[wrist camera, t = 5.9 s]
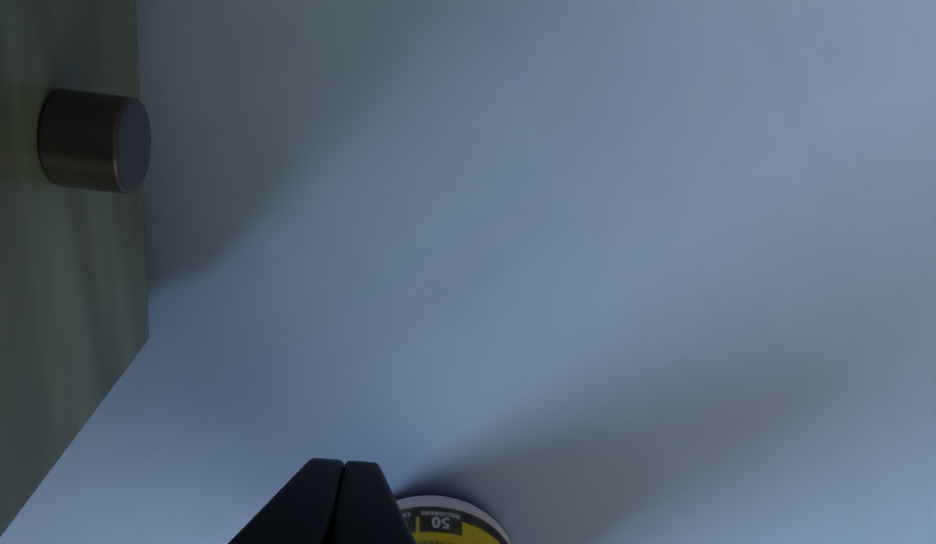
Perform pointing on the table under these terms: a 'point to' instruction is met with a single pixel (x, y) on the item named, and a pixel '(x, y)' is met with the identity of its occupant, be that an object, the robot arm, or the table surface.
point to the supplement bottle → (449, 521)
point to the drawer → (66, 225)
